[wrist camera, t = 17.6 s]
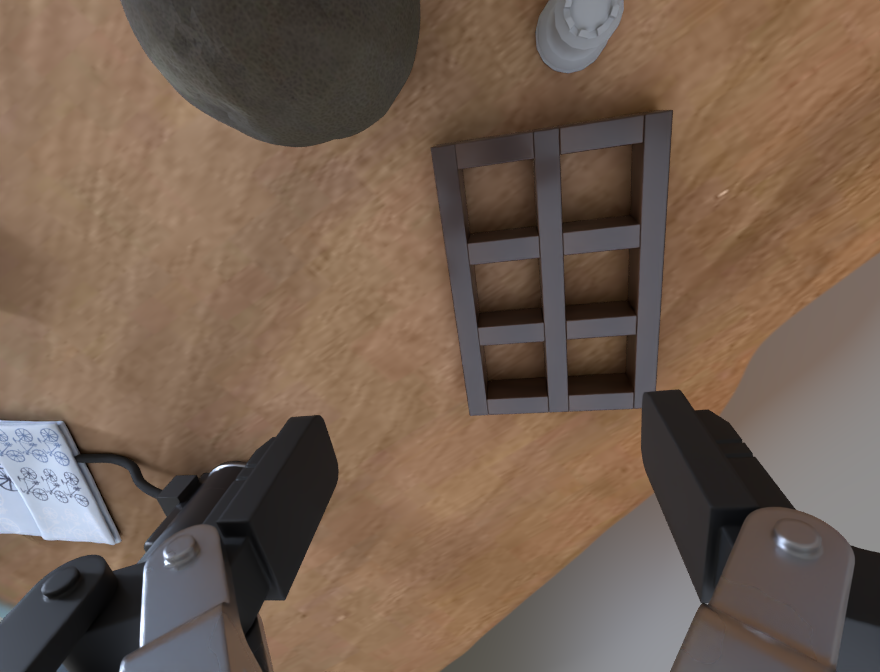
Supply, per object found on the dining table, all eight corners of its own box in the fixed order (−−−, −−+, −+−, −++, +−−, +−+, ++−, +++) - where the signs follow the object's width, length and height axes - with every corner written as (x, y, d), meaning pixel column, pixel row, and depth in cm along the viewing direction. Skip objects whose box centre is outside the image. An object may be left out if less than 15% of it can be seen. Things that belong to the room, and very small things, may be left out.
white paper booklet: (127, 538, 58) (114, 552, 56) (-7, 525, 61) (-24, 539, 59) (68, 415, 50) (50, 428, 48) (-85, 407, 52) (-108, 419, 50)
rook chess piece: (598, -27, 27) (630, -76, 20) (616, 54, 29) (651, 35, 21) (525, 10, 28) (530, -24, 21) (546, 86, 30) (558, 77, 23)
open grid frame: (472, 396, 41) (469, 415, 39) (436, 144, 32) (430, 147, 30) (644, 387, 39) (655, 408, 36) (658, 110, 30) (673, 109, 27)
